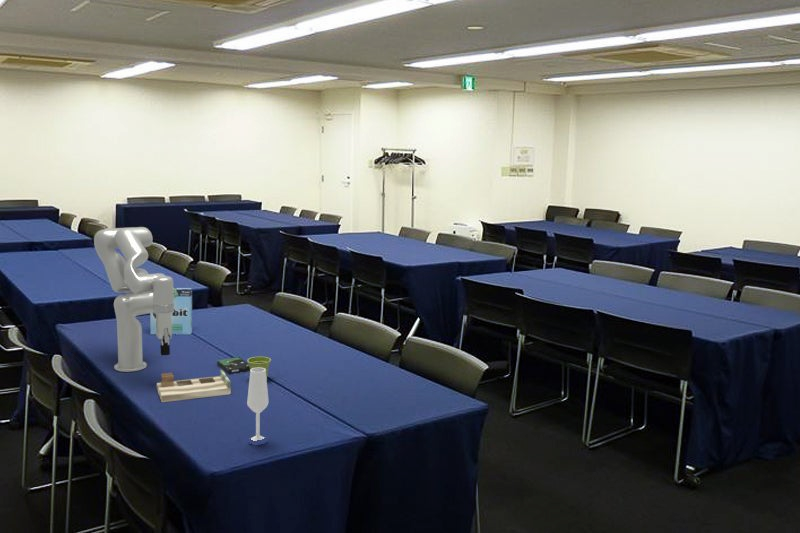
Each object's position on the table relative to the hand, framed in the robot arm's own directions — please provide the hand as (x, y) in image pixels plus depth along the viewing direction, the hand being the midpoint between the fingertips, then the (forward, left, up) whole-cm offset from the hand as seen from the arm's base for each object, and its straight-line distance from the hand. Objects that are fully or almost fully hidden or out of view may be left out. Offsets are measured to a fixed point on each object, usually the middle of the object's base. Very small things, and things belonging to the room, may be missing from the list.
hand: (165, 354), depth 263 cm
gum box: (-75, +12, -13) cm, 77 cm away
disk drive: (-12, +29, -13) cm, 34 cm away
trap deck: (+11, +9, -12) cm, 19 cm away
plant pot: (+7, +35, -13) cm, 38 cm away
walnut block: (+7, 0, -10) cm, 12 cm away
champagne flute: (+64, +20, -13) cm, 68 cm away
